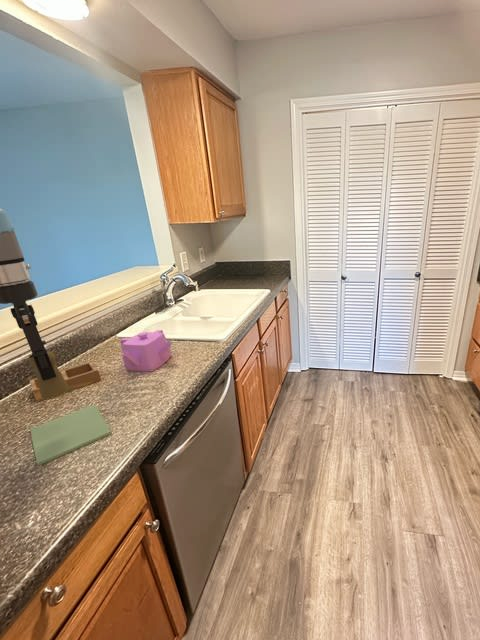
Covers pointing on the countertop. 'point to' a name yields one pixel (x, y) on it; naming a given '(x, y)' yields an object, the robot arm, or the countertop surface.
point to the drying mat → (68, 433)
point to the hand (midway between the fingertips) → (48, 374)
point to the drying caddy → (72, 378)
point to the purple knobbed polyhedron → (145, 351)
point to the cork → (50, 380)
